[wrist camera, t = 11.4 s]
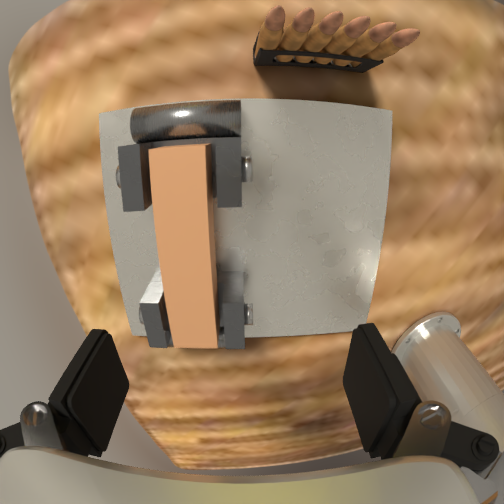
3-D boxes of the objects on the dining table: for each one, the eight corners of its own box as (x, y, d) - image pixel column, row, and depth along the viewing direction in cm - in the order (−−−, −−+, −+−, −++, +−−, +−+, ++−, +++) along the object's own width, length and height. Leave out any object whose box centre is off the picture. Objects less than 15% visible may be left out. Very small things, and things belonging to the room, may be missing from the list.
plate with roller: (361, 325, 34) (381, 362, 28) (134, 330, 34) (117, 369, 27) (387, 111, 25) (425, 108, 18) (103, 113, 24) (66, 111, 17)
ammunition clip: (253, 65, 23) (262, 19, 12) (252, 48, 22) (261, -7, 11) (363, 72, 23) (432, 47, 12) (362, 56, 23) (428, 23, 12)
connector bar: (220, 322, 29) (217, 348, 25) (180, 322, 29) (174, 347, 25) (211, 143, 23) (205, 145, 19) (162, 146, 22) (148, 149, 19)
